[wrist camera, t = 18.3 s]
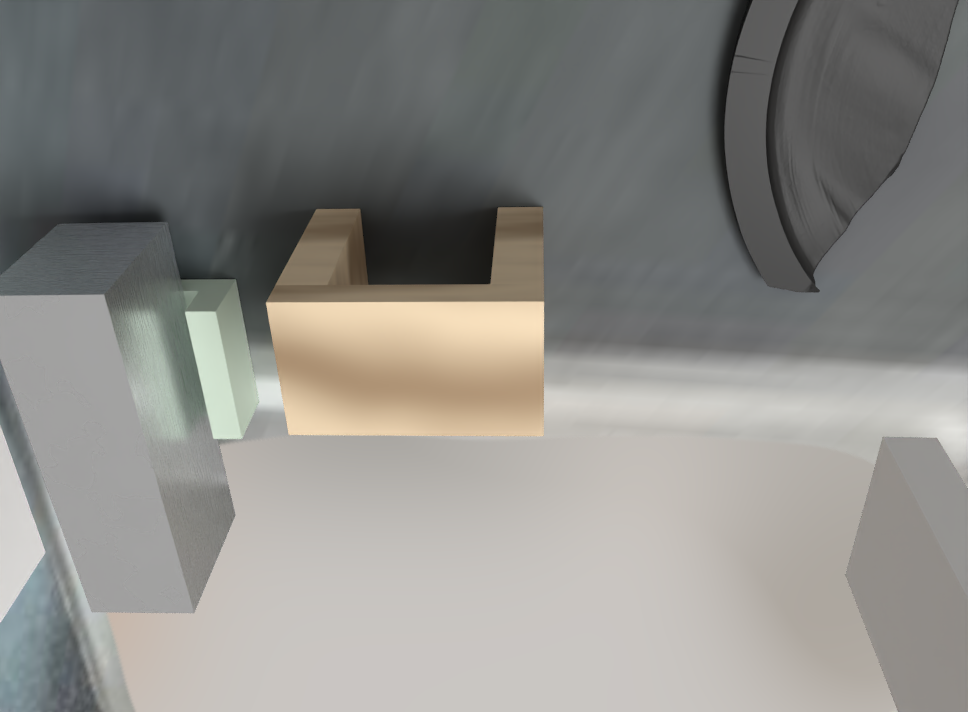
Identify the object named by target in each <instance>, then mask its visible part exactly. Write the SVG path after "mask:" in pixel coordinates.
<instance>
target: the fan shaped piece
mask: <svg viewBox="0 0 968 712" xmlns="http://www.w3.org/2000/svg"><path fill="white" fill-rule="evenodd" d="M958 1H959V0H749V2H748V5H747V8H746V11H745V14H744V17H743V20H742V24H741V27H740V31H739V34H738V37H737V42H736V45H735V50H734V54H733V59H732V64H731V69H730V75H729V81H728V87H727V94H726V103H725V116H724V151H725V162H726V171H727V177H728V183H729V188H730V192H731V197H732V201H733V206H734V210H735V213H736V217H737V220H738V224H739V227H740V230H741V233H742V236H743V239H744V241H745V244H746V246H747V248H748V251H749V253H750V255H751V257H752V259H753V261H754V263H755V265H756V267H757V268H758V270H759V272H760V274H761V276H762V277H763V279H764V281H765V282H766V284H767V286H769V287H774V288H780V289H786V290H790V291H795V292H820V291H819V289H818V288H817V287H816V286H815V280H814V277H813V273H814V271H815V269H816V267H817V265H818V263H819V262H820V261H821V259H822V258H823V257H824V255H825V254H826V253H827V252H828V250H829V249H830V248H831V247H832V245H833V244H834V243H835V242H836V241H837V240H838V239H839V238H840V236H842V235H843V233H844V232H845V231H846V229H847V227H848V226H849V224H850V222H851V220H852V218H853V217H854V216H855V214H856V213H857V212H858V211H859V209H860V208H861V207H862V206H863V205H864V204H865V203H866V202H867V201H868V200H869V199H870V198H871V197H872V196H873V194H874V193H875V192H876V191H877V190H878V188H879V187H880V186H881V185H882V184H883V183H884V182H885V181H886V180H887V178H889V177H890V176H891V175H892V174H893V173H894V172H895V170H896V169H897V168H898V166H899V164H900V161H901V159H902V157H903V155H904V153H905V151H906V149H907V147H908V145H909V143H910V140H911V138H912V136H913V133H914V131H915V129H916V126H917V124H918V121H919V119H920V117H921V114H922V112H923V110H924V108H925V106H926V103H927V101H928V98H929V96H930V93H931V91H932V89H933V86H934V84H935V81H936V78H937V75H938V71H939V68H940V65H941V62H942V57H943V54H944V51H945V47H946V44H947V41H948V37H949V33H950V28H951V24H952V20H953V17H954V14H955V10H956V7H957V4H958Z"/></svg>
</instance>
